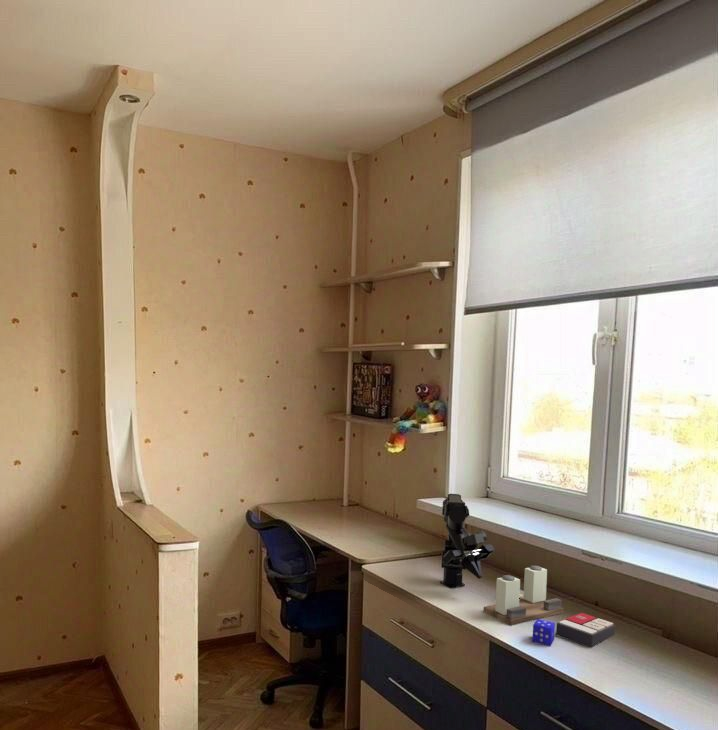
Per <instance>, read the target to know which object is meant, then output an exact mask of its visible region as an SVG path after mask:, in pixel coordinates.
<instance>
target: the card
mask: <svg viewBox="0 0 718 730" xmlns="http://www.w3.org/2000/svg"><path fill="white" fill-rule="evenodd" d="M523 598H524V590H522V589H520V599H523Z"/></svg>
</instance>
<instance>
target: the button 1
mask: <svg viewBox="0 0 718 730" xmlns="http://www.w3.org/2000/svg"><path fill="white" fill-rule="evenodd" d="M495 588H496V590H495V604H496V608H495V611H497V612H499V613H501V614H503V615H507V609H509V608H514V607H518V606H519V598H520V590H521V579H519V578H517V577H515V576H513V575H510V574H505V575H502V577H497V578H496V587H495Z"/></svg>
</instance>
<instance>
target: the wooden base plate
mask: <svg viewBox="0 0 718 730" xmlns="http://www.w3.org/2000/svg"><path fill="white" fill-rule="evenodd" d="M562 606H563V600H562V599H560V598H557V597H556V598H552V599H547V600H545V601H540V602H536V603H531V602H529V601H527V600H525V599H524V598H523V599H519V606H518V607H514V608H509V609H507V615H503V614H501V613H499V612H497V611H495V608H496V603H495V604H490V605H486V606H483V609H482V610H483V612H484V613H485V614H487V615H489V616H491V617H493V618H496V619H498V621H499V620H500V621H501V622H503V623H505V624H507V625H509V626H515V625H519V624H523V623H528V622H532V620H533V621H536V620H537V619H540V620H542V619H544V617H545V618H548V616H549V617H553V616H552V615H554V616H557V615H556V614H558V615H561V614H560V613H562V614H564V613H565V608H564V607H562Z"/></svg>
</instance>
